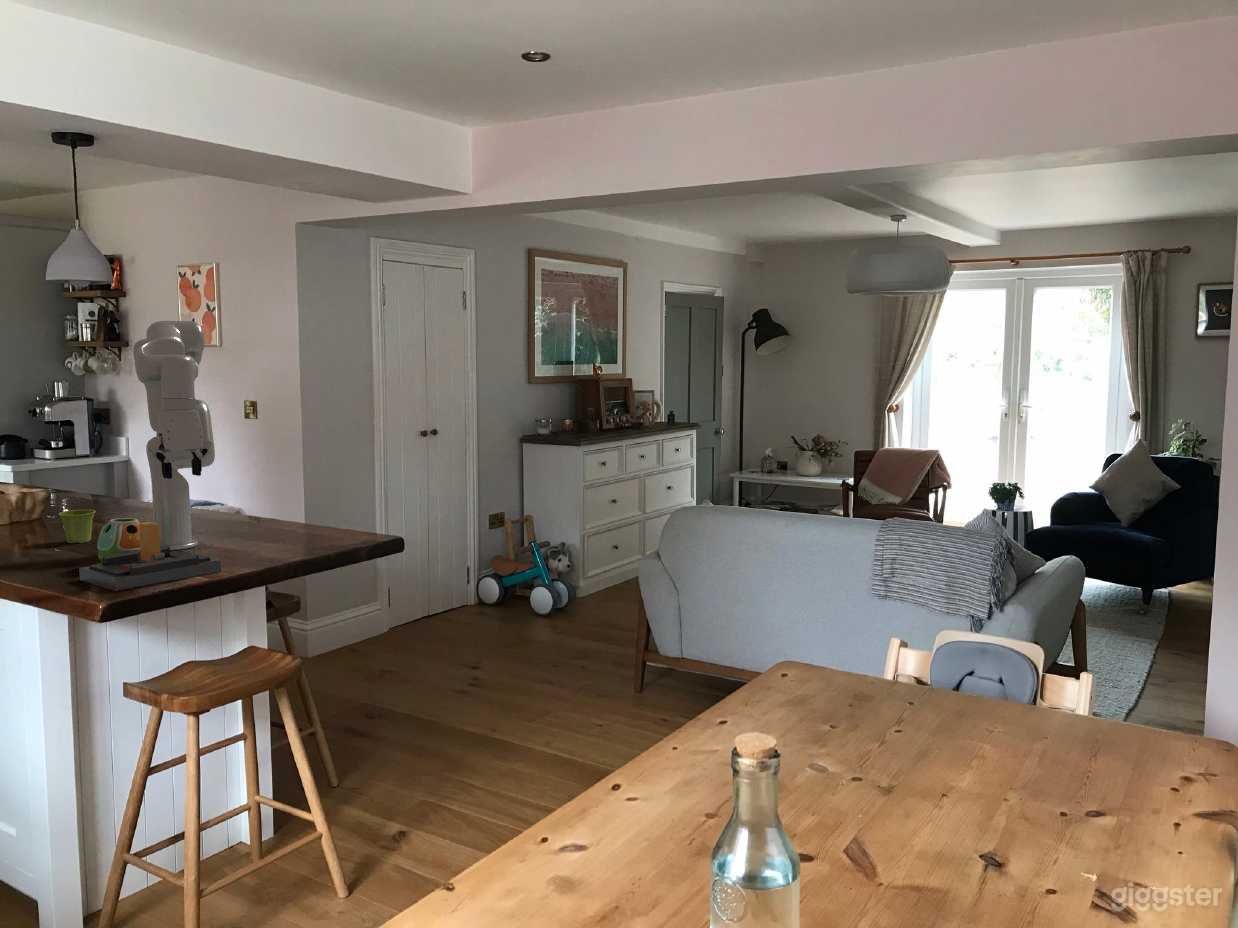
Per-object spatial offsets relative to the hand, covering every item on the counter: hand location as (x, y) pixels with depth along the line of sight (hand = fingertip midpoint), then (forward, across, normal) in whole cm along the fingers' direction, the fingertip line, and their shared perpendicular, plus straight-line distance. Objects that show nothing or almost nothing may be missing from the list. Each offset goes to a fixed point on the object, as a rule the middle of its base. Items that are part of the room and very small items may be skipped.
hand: (182, 476), depth 246 cm
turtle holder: (+24, +7, -19) cm, 31 cm away
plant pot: (+24, 0, -60) cm, 65 cm away
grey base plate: (+24, +9, 0) cm, 25 cm away
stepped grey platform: (+21, +9, 0) cm, 23 cm away
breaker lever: (+19, +9, 0) cm, 21 cm away
